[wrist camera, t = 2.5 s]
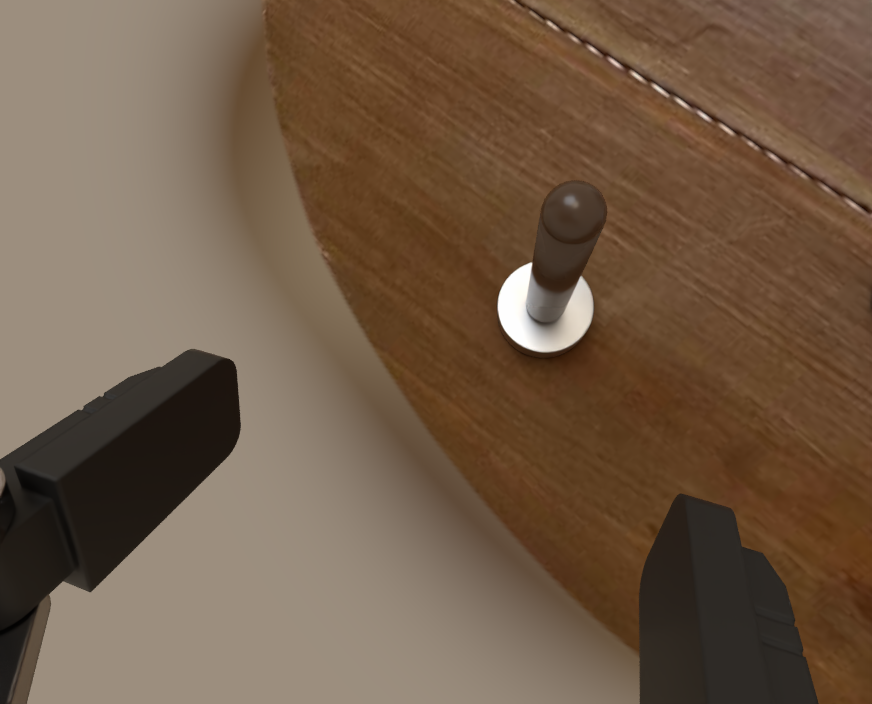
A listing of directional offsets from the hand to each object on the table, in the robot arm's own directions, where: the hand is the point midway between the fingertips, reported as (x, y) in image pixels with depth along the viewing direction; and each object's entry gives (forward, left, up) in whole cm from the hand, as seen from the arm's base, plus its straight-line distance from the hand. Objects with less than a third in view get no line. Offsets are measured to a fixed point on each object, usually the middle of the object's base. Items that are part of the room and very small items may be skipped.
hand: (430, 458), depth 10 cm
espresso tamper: (0, +7, -17) cm, 18 cm away
